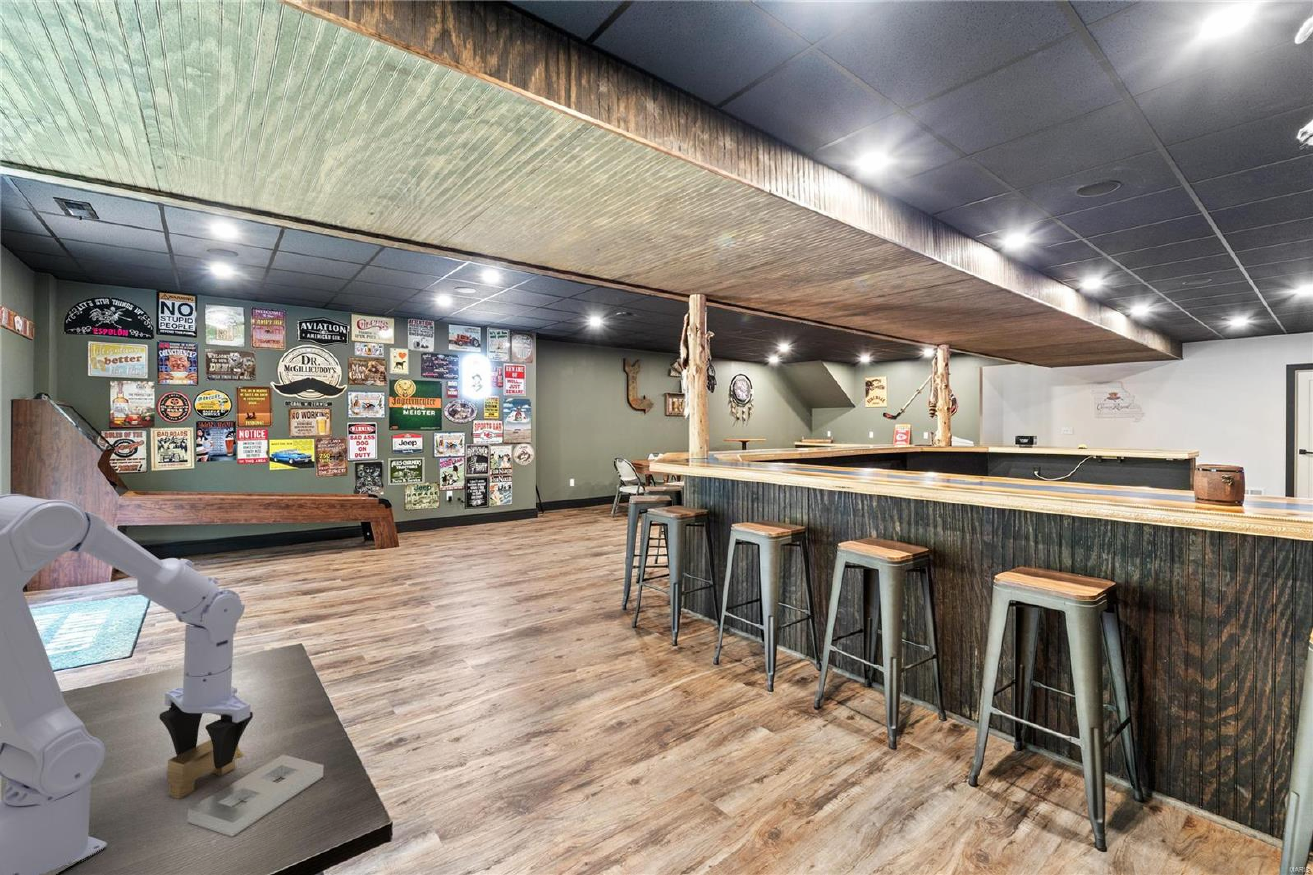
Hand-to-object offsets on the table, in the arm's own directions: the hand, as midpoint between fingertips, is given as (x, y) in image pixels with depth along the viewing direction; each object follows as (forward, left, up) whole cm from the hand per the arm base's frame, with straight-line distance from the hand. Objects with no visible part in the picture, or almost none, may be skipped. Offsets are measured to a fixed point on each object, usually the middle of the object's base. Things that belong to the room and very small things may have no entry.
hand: (204, 759), depth 86 cm
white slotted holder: (0, -11, -3) cm, 11 cm away
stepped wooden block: (0, 0, -3) cm, 3 cm away
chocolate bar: (+8, +7, -4) cm, 12 cm away
